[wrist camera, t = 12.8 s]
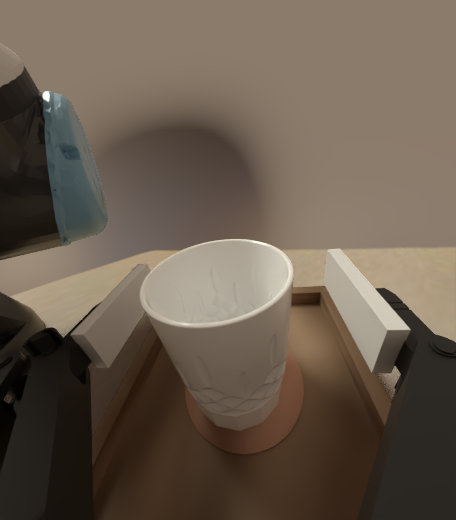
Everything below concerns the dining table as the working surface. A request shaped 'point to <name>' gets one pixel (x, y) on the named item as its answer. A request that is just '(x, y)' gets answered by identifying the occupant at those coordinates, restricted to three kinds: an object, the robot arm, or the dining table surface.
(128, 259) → the dining table surface
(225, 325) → the white cup
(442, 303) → the dining table surface
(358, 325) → the robot arm
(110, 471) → the tray
